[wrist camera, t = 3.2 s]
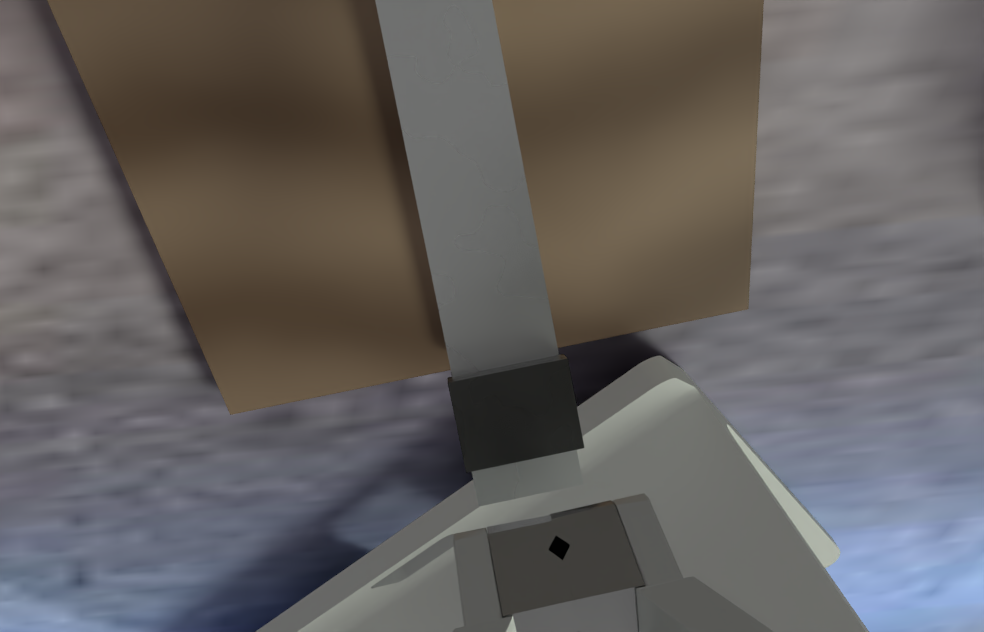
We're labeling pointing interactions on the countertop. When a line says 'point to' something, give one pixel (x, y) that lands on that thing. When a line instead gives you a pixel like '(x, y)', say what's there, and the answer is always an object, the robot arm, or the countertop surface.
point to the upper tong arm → (482, 248)
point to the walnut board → (387, 179)
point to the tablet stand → (608, 476)
